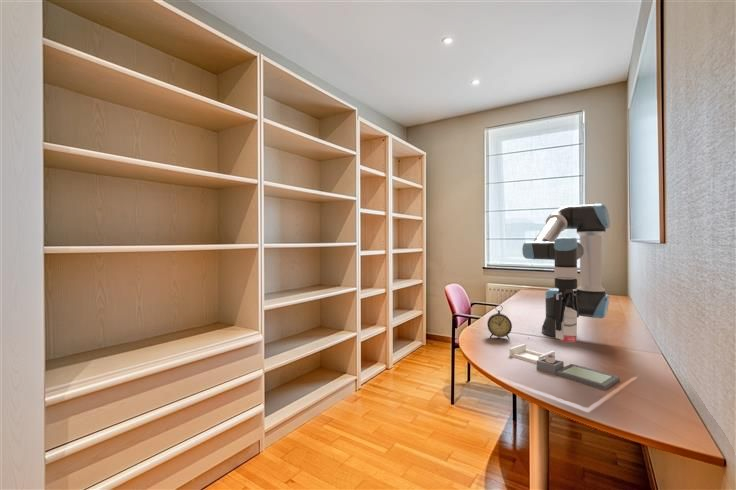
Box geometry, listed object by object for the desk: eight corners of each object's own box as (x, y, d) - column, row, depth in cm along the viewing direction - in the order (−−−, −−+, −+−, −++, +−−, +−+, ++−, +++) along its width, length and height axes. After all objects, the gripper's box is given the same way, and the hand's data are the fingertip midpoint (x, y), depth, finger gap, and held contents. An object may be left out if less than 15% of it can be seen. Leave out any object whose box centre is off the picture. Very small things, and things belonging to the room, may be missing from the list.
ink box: (577, 342, 126) (577, 311, 126) (562, 342, 127) (562, 310, 127) (569, 335, 135) (568, 305, 134) (555, 335, 136) (554, 305, 135)
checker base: (571, 369, 126) (571, 363, 126) (619, 383, 114) (619, 376, 114) (555, 377, 119) (555, 371, 119) (604, 392, 107) (604, 385, 107)
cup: (545, 367, 128) (545, 356, 128) (563, 372, 123) (563, 361, 123) (536, 371, 124) (536, 360, 124) (554, 377, 119) (554, 365, 119)
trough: (524, 352, 145) (524, 343, 145) (554, 361, 134) (554, 351, 134) (509, 358, 138) (509, 348, 138) (540, 367, 128) (540, 357, 128)
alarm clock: (487, 338, 166) (487, 305, 166) (487, 335, 171) (487, 303, 171) (511, 340, 163) (511, 306, 162) (510, 337, 168) (510, 304, 168)
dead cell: (547, 367, 126) (547, 353, 126) (556, 369, 123) (556, 355, 123) (543, 369, 124) (543, 355, 124) (552, 371, 121) (552, 357, 121)
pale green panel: (573, 368, 124) (573, 365, 124) (612, 379, 114) (612, 376, 114) (561, 374, 118) (561, 371, 118) (601, 386, 109) (601, 383, 109)
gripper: (568, 274, 140) (568, 328, 140) (541, 279, 127) (541, 339, 128) (588, 276, 134) (589, 332, 134) (562, 281, 121) (562, 344, 122)
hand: (565, 336), depth 131 cm, fingers closed on ink box, 9 cm apart
